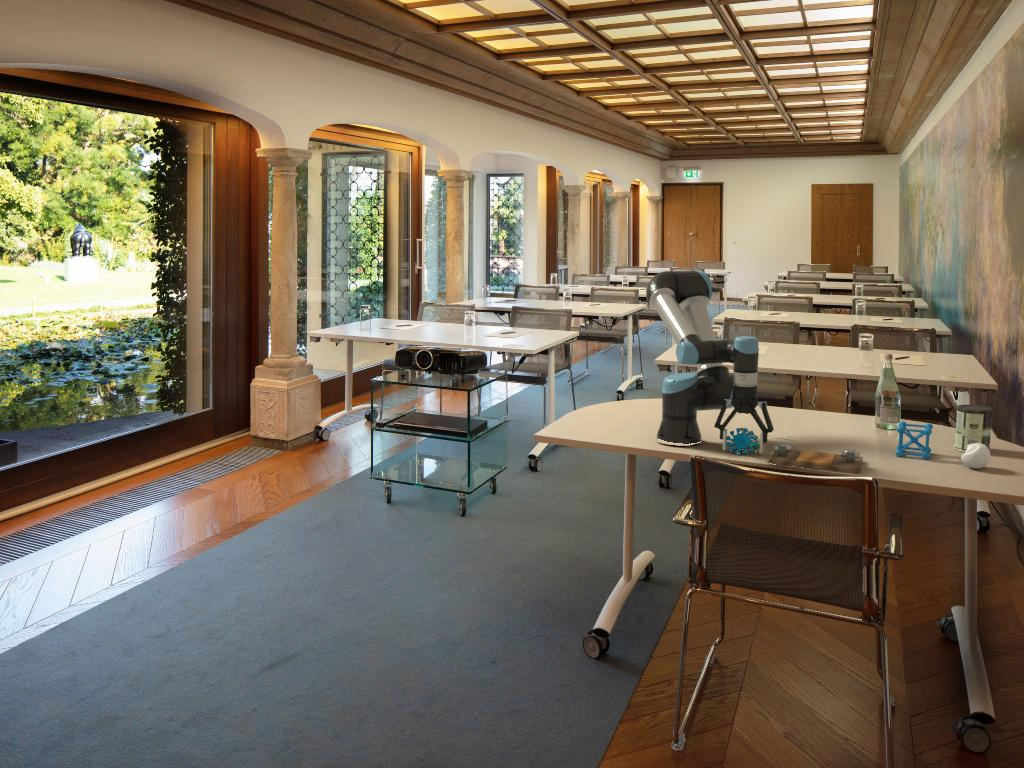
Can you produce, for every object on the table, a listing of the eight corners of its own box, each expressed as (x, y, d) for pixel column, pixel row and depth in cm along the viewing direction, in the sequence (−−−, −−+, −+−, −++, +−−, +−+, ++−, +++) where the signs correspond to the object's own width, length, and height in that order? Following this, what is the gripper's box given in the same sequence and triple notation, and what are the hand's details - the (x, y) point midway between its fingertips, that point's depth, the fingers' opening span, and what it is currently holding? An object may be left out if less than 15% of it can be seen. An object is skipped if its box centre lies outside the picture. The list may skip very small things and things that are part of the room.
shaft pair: (773, 455, 269) (773, 445, 269) (775, 452, 273) (775, 442, 272) (858, 464, 258) (859, 453, 258) (859, 460, 262) (860, 450, 261)
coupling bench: (768, 464, 265) (768, 458, 264) (776, 453, 278) (776, 447, 278) (859, 473, 254) (859, 467, 253) (862, 461, 267) (863, 455, 267)
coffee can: (979, 445, 284) (982, 404, 281) (996, 453, 274) (999, 410, 271) (947, 446, 284) (951, 404, 282) (963, 454, 274) (966, 410, 271)
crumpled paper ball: (963, 463, 263) (965, 438, 262) (991, 467, 258) (993, 442, 257) (957, 469, 257) (959, 443, 256) (986, 473, 252) (988, 447, 251)
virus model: (721, 448, 278) (730, 423, 283) (723, 457, 283) (731, 432, 287) (756, 456, 274) (764, 431, 278) (756, 466, 278) (765, 440, 283)
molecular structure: (894, 457, 272) (896, 426, 270) (897, 449, 280) (899, 420, 279) (929, 460, 267) (931, 429, 265) (931, 453, 276) (933, 422, 274)
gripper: (705, 384, 277) (704, 450, 281) (781, 389, 267) (778, 457, 271) (711, 380, 284) (709, 445, 288) (784, 385, 274) (782, 451, 277)
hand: (742, 451), depth 279 cm, fingers closed on virus model, 11 cm apart
